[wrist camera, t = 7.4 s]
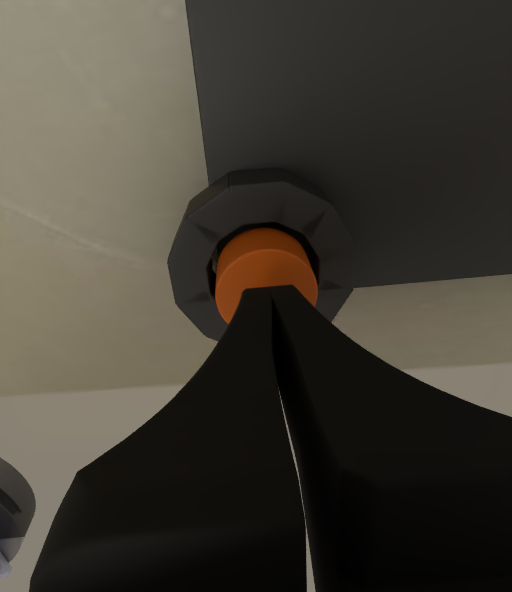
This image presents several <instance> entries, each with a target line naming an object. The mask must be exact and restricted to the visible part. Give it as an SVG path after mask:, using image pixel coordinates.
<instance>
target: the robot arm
mask: <svg viewBox="0 0 512 592" xmlns="http://www.w3.org/2000/svg"><path fill="white" fill-rule="evenodd" d="M278 388H279V389H278ZM279 392H280V394H279ZM280 396H281V399H280ZM281 400H282V404H283V408H284V412H285V416H286V420H287V424H288V428H289V432H290V436H291V441H292V445H293V449H294V453H295V457H296V462H297V467H298V472H299V478H300V485H301V492H302V499H303V505H304V511H305V517H304V511H303V505H302V499H301V492H300V486H299V480H298V476H297V471H296V467H295V463H294V459H293V455H292V451H291V446H290V442H289V438H288V433H287V428H286V424H285V419H284V415H283V410H282V404H281ZM305 519H306V526H307V533H308V540H309V547H310V554H311V561H312V568H313V576H314V583H315V590H316V592H512V417H510V416H507V415H504V414H501V413H498V412H495V411H492V410H489V409H486V408H483V407H480V406H478V405H475V404H473V403H470V402H468V401H465V400H463V399H460V398H458V397H456V396H453V395H451V394H448V393H446V392H443V391H441V390H439V389H437V388H435V387H433V386H430V385H428V384H426V383H424V382H422V381H420V380H418V379H416V378H414V377H412V376H410V375H408V374H406V373H404V372H403V371H401V370H399V369H397V368H395V367H393V366H392V365H390V364H388V363H386V362H385V361H383V360H381V359H380V358H378V357H377V356H375V355H373V354H372V353H370V352H369V351H367V350H366V349H364V348H363V347H361V346H360V345H358V344H357V343H355V342H354V341H353V340H351V339H350V338H349V337H348V336H346V335H345V334H344V333H342V332H341V331H340V330H339V329H338V328H337V327H335V326H334V325H333V324H332V323H331V322H330V321H329V320H328V319H327V318H325V317H324V316H323V315H322V314H321V313H320V312H319V311H318V310H317V309H316V308H315V307H314V306H313V305H312V304H311V303H310V302H309V301H308V300H307V299H306V298H305V297H304V296H303V294H302V293H301V292H300V291H299V290H298V289H297V288H296V287H295V286H294V285H293V284H291V285H280V286H269V287H257V288H246V289H245V290H244V291H243V292H242V294H241V298H240V301H239V304H238V306H237V309H236V311H235V313H234V315H233V317H232V319H231V321H230V323H229V325H228V327H227V329H226V330H225V332H224V334H223V336H222V337H221V339H220V340H219V342H218V343H217V345H216V346H215V348H214V350H213V351H212V353H211V354H210V355H209V357H208V358H207V360H206V361H205V362H204V364H203V365H202V366H201V367H200V369H199V370H198V371H197V372H196V374H195V375H194V376H193V377H192V378H191V379H190V381H189V382H188V383H187V384H186V385H185V386H184V387H183V388H182V389H181V390H180V391H179V392H178V394H177V395H176V396H175V397H174V398H173V399H172V400H171V401H170V402H169V403H168V404H167V405H166V406H164V407H163V408H162V409H161V410H160V411H159V412H158V413H157V414H155V415H154V416H153V417H152V418H151V419H150V420H148V421H147V422H146V423H145V424H144V425H142V426H141V427H140V428H139V429H137V430H136V431H135V432H133V433H132V434H131V435H130V436H128V437H127V438H126V439H124V440H123V441H122V442H120V443H119V444H117V445H116V446H114V447H113V448H111V449H110V450H109V451H107V452H106V453H104V454H103V455H101V456H100V457H99V458H97V459H96V460H94V461H93V462H92V463H90V464H88V465H87V466H85V467H84V468H82V469H81V470H79V471H78V472H77V473H76V476H75V478H74V480H73V482H72V484H71V486H70V488H69V490H68V491H67V493H66V495H65V497H64V499H63V501H62V503H61V505H60V507H59V509H58V511H57V513H56V515H55V518H54V520H53V522H52V525H51V528H50V530H49V533H48V535H47V538H46V540H45V543H44V546H43V548H42V551H41V554H40V556H39V558H38V561H37V564H36V566H35V569H34V572H33V574H32V577H31V580H30V589H29V592H307V580H306V579H307V577H306V526H305ZM11 569H12V568H11V566H10V564H9V563H8V561H7V560H6V559H5V557H4V556H3V554H2V553H1V552H0V577H4V576H7V575H9V574H10V571H11Z"/></svg>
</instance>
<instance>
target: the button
mask: <svg viewBox="0 0 512 592" xmlns="http://www.w3.org/2000/svg"><path fill="white" fill-rule="evenodd" d="M291 284H293V285H294V286H295V287H296V288H297V289H298V290H299V291H300V292H301V293H302V294H303V296H304V297H305V298H306V299H307V300H308V301H309V302H310V303H311V304H312V305H313V306H314V307H315V304H316V301H317V296H318V285H317V281H316V278H315V275H314V273H313V270H312V268H311V265H310V263H309V260H308V258H307V255H306V253H305V251H304V249H303V247H302V246H301V244H300V243H299V242H298V241H297V240H296V239H295V238H294V237H292V236H291V235H289V234H287V233H286V232H283V231H281V230H278V229H273V228H256V229H251V230H248V231H245V232H243V233H241V234H239V235H237V236H236V237H234V238H233V239H232V240H231V241H230V242H229V243H228V244H227V245H226V246H225V247H224V249H223V251H222V252H221V254H220V257H219V259H218V263H217V274H216V289H215V300H216V305H217V308H218V311H219V313H220V314H221V316H222V318H223V319H224V320H225V321H226V322H227V323H228V324H229V323H230V321H231V319H232V317H233V315H234V313H235V311H236V309H237V306H238V304H239V301H240V298H241V294H242V292H243V291H244V290H245V289H246V288H257V287H269V286H280V285H291Z"/></svg>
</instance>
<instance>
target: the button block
mask: <svg viewBox="0 0 512 592" xmlns="http://www.w3.org/2000/svg"><path fill="white" fill-rule="evenodd" d="M185 3H186V11H187V19H188V26H189V34H190V42H191V49H192V57H193V65H194V73H195V80H196V88H197V96H198V104H199V111H200V119H201V127H202V134H203V142H204V150H205V158H206V165H207V173H208V181H209V187H207V188H206V189H205V190H203V191H202V192H201V193H199V194H198V195H196V196H195V197H194V198H192V200H190V202H189V204H188V207H187V209H186V212H185V214H184V216H183V219H182V221H181V224H180V226H179V229H178V231H177V233H176V236H175V238H174V241H173V244H172V247H171V251H170V254H169V257H168V262H167V264H168V269H169V274H170V279H171V284H172V289H173V294H174V299H175V303H176V304H177V306H178V307H179V308H180V310H181V311H182V312H183V313H184V314H185V315H186V316H187V317H188V318H189V319H190V320H191V321H192V322H193V323H194V325H195V326H196V327H197V328H198V329H199V330H200V331H201V332H202V333H203V334H204V335H205V336H206V337H208V338H211V339H214V340H216V341H219V340H220V339H221V337H222V336H223V334H224V332H225V330H226V329H227V327H228V325H229V324H228V323H227V322H226V321H225V320H224V319H223V318H222V316H221V314H220V313H219V311H218V308H217V305H216V300H215V289H216V274H215V272H214V271H213V268H212V261H211V258H212V255H213V253H214V251H215V249H216V247H217V250H218V258H219V257H220V254H221V252H222V251H223V249H224V247H225V246H226V245H227V244H228V243H229V242H230V241H231V240H232V239H233V238H234V237H236V236H237V235H239V234H241V233H243V232H245V231H248V230H251V229H256V228H273V229H278V230H281V231H283V232H286V233H287V234H289V235H291V236H292V237H294V238H295V239H296V240H297V241H298V242H299V243H300V244H301V246H302V247H303V249H304V251H305V253H306V255H307V258H308V260H309V263H310V265H311V268H312V270H313V273H314V275H315V278H316V281H317V285H318V296H317V301H316V304H315V308H316V309H317V310H318V311H319V312H320V313H321V314H322V315H323V316H324V317H325V318H327V319H328V320H329V321H330V322H332V321H333V319H334V318H335V316H336V315H337V313H338V312H339V310H340V309H341V307H342V306H343V304H344V303H345V301H346V300H347V298H348V297H349V295H350V294H351V292H352V291H353V288H360V287H371V286H382V285H393V284H405V283H416V282H427V281H438V280H449V279H460V278H472V277H483V276H494V275H505V274H512V0H185Z"/></svg>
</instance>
